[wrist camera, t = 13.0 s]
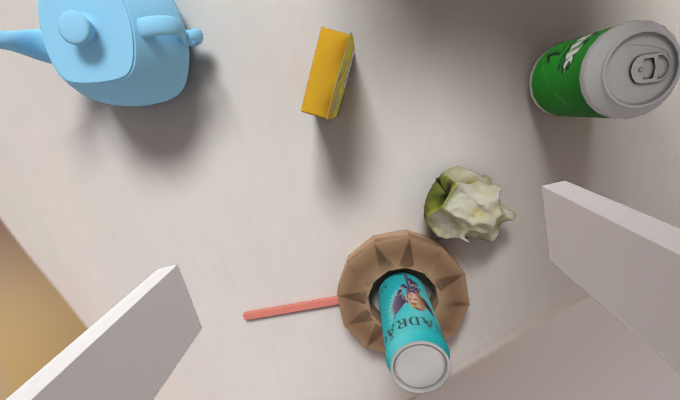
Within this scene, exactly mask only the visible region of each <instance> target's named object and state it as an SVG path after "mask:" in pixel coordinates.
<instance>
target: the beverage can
mask: <svg viewBox="0 0 680 400" xmlns="http://www.w3.org/2000/svg"><path fill="white" fill-rule="evenodd" d="M378 299H379V307H380V315H381V323H382V331H383V339H384V347H385V355H386V362H387V366H388V368H389V370H390V372H391V374H392V377H393V379H394V380H395V382H396V383H397V384H398V385H399V386H400V387H401V388H402V389H404V390H406V391H409V392H412V393H419V394H420V393H428V392H432V391H434V390H436V389H438V388H439V387H441V386H442V385H443V384H444V383H445V381H446V380H447V378H448V376H449V374H450V361H449V360H450V353H449V349H448V346H447V344H446V341H445V338H444V336H443V333H442V331H441V328H440V326H439V323H438V320H437V318H436V315H435V313H434V310H433V308H432V305H431V302H430V300H429V297H428V295H427V292H426V290H425V287H424V285H423V283H422V282H421V281H420V280H419V279H418V278H417V277H415V276H414V275H412V274H409V273H406V272H395V273H393V274H391V275H389V276H388V277H387V278H386V279H385V280H384V281H383V283H382V284H381V286H380V288H379V292H378Z"/></svg>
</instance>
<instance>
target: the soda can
mask: <svg viewBox="0 0 680 400" xmlns="http://www.w3.org/2000/svg"><path fill="white" fill-rule="evenodd" d="M679 75H680V47H679V44H678V42H677V40H676V38H675V36H674V35H673V34H672V33H671V32H670V31H669V30H668V29H667V28H666V27H665V26H663V25H660V24H657V23H655V22H652V21H636V20H634V21H630V22H627V23H624V24H621V25H617V26H614V27H611V28H608V29H605V30H601V31H598V32H595V33H592V34H589V35H585V36H582V37H579V38H576V39H573V40H570V41H566V42H563V43H560V44H557V45H554V46H552V47H551V48H549V49H548V50H546V51H545V52H544V53H543V54H542V55H541V56H540V57H539V58H538V60H537V61H536V62H535V64H534V66H533V68H532V71H531V73H530V79H529V89H530V95H531V97H532V99H533V101H534V102H535V104H536V105H537V106H538V107H539V108H540V109H541V110H542V111H544V112H546V113H548V114H551V115H554V116H573V117H598V118H628V119H630V118H633V117H637V116H640V115H644V114H646V113H648V112H650V111H651V110H653V109H654V108H656V107H658V106H659V105H660V104H661V103H662V102H663V101H664V100H665V99H666V98H667V97H668V96H669V95H670V94H671V92H672V90H673V88H674V87H675V85H676V83H677V81H678V79H679Z"/></svg>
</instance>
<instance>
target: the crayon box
mask: <svg viewBox="0 0 680 400" xmlns="http://www.w3.org/2000/svg"><path fill="white" fill-rule="evenodd" d="M354 54H355V51H354V42H353V35H352V32H351V33H350V35H349V34H346V33H342V32H338V31H335V30H331V29H327V28H325V27H321V31H320V35H319V39H318V43H317V47H316V51H315V55H314V59H313V63H312V68H311V72H310V76H309V80H308V84H307V88H306V92H305V96H304V100H303V104H302V109H301V111H302V112H305V113H308V114H311V115H314V116H317V117H321V118H325V119H326V120H331V119H333V118H335V117H336V116H338V112H339V108H340V104H341V101H342V98H343V94H344V91H345V87H346V84H347V80H348V77H349V73H350V69H351V66H352V62H353V58H354Z"/></svg>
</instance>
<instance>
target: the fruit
mask: <svg viewBox="0 0 680 400" xmlns="http://www.w3.org/2000/svg"><path fill="white" fill-rule="evenodd" d="M501 190H502V188H500V187H499V186H496V185H492V179H491V178H490V177H489V176H487V175H484V176H481V175H479V174H476V173H475V172H473V171H470V170H467V169H464V168H462V167H454V168H451V169H449V170H447V171H445V172H443V173H442V174H441V175H440V176H439V178H436V182H435V183H434V184H433V186H432V188H431V189H430V191H429V193H428V195H427V198H426V201H425V205H424V218H425V221H426V223H427V224H428V226H429V227H430V228H431V230H432V234H433V238H434V239H449V238H459V239H462V240H463V241H465V242H467V243H469V244H470V242H469V241H468V240H467V239H466V238H476V239H478V238H479V239H484V240H487V241H490V242H492V241H494V240H495V239H496V237H497V236H498V234H499V225H500V224H501V223H503V222H505V221H511V220H513V219H514V218H515V217H516V214H515V213H514V212H512V211H510V210H508V209H507V208H505V207H504V206H503V205H502V204H501V202H500V199H499V195H500V192H501ZM435 236H437V238H435Z"/></svg>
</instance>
